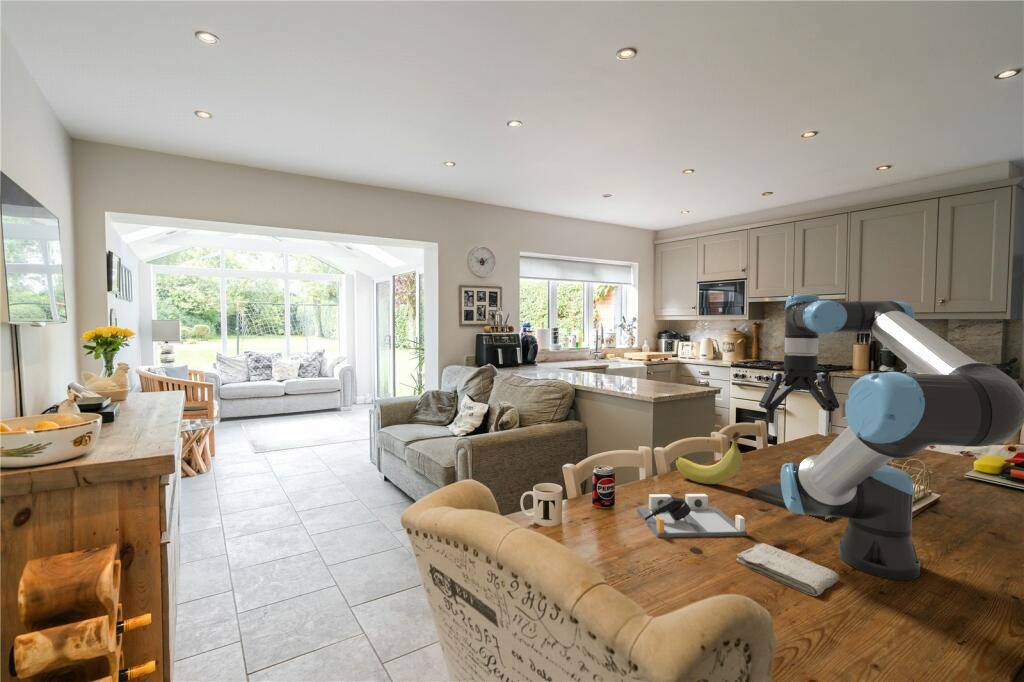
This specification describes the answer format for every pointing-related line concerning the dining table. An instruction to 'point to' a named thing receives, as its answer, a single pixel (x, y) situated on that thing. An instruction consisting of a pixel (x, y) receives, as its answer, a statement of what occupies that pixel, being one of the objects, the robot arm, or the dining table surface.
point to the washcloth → (788, 569)
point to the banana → (713, 466)
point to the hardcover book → (773, 496)
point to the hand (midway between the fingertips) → (798, 435)
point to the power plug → (673, 509)
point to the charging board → (692, 519)
